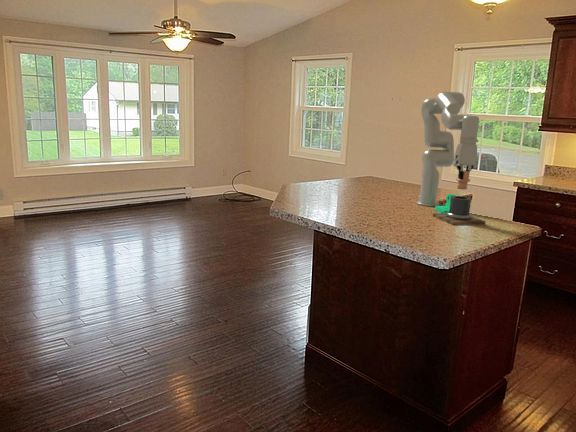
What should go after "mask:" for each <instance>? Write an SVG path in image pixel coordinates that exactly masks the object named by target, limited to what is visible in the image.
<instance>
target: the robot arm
mask: <svg viewBox="0 0 576 432" xmlns="http://www.w3.org/2000/svg"><path fill="white" fill-rule="evenodd" d="M465 99H466V98H465V96H464V94H463V93H461V92H458V91H443V92H440V93H438V94H437V96H436V97H433V98H432V97H431V98H427V99H424V100H423V102H422V104H421V117H422V120H423V121H422V122H423V125H424V127H423V128H424V131H423V132H424V143H425V146H426V147H427V148H432V149H427V150H425V151H424V152H423V153H422V157H421V158H422V159H421V160H422V161H421V162H422V173H421V181H420V193H419V195H418V197H417V198H418V200H416V204H417V205H419V206H423V207H425V206H426V207H435V206H440V203H439V202H437V200H438V191H439V183H440V172H439V170H438V169H437V167H439V168H441V167H442V168H444V167H445V168H447V167H451V166H453V167H455V168H456V169H457V171H458V175H457V178H458V179H463V174H464V171H468V172H469V174H470V172H471V171H472V170H473V169H474V168H476V167H477V166H478V164H477V161H478V145H477V143H478V142H479V139H478V130H479V126H480V125H479V123H480V117H479V116H478V115H471V114H459V113H460V111H461V109H462V108H463V106H464V105H465V101H466V100H465ZM436 115H440V116H441V117H440V118H441V123H442V124H443V126H444V127H445V128H446V129H448V130H451V131H455V130H456V131H460V136H459V143H457V146H456V149H455V143H454V141H455V139H454V135H453V134H452V132H450V131H447V130H445V131H443V130H441V127H440V126H441V124H440V120H439V119H438V117H437V116H436ZM436 148H437V149H436ZM464 166H465V167H464ZM464 168H465V170H464ZM463 170H464V171H463Z"/></svg>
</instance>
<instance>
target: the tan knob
mask: <svg viewBox="0 0 576 432" xmlns="http://www.w3.org/2000/svg"><path fill="white" fill-rule="evenodd" d="M463 171H464V174H463V179H458V177H456V179H455V180H456V181H457V189H459V190H467V189H468V183H469V182H471V179H470V173H469V172H468V171H466V170H464V169H463Z"/></svg>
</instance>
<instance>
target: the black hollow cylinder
mask: <svg viewBox="0 0 576 432" xmlns="http://www.w3.org/2000/svg"><path fill="white" fill-rule="evenodd" d="M471 203H472V198H471V197H467V196H463V195H462V196H461V195H456V196H451V201H450V210H449V211H447V213H446V217H448V218H451V219H456V220H470V219H471V217H472V216H473V214H472V213H470V212H471V211H470V210H471V205H472V204H471Z"/></svg>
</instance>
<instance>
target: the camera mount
mask: <svg viewBox="0 0 576 432" xmlns="http://www.w3.org/2000/svg"><path fill="white" fill-rule="evenodd" d="M451 196H457V195H456V194H455V193H448V194H447V195H446V202H445V205H438V206H434V209H435V210H437V211H436V212H437V213H447V211H449V210H450V201H451Z"/></svg>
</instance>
